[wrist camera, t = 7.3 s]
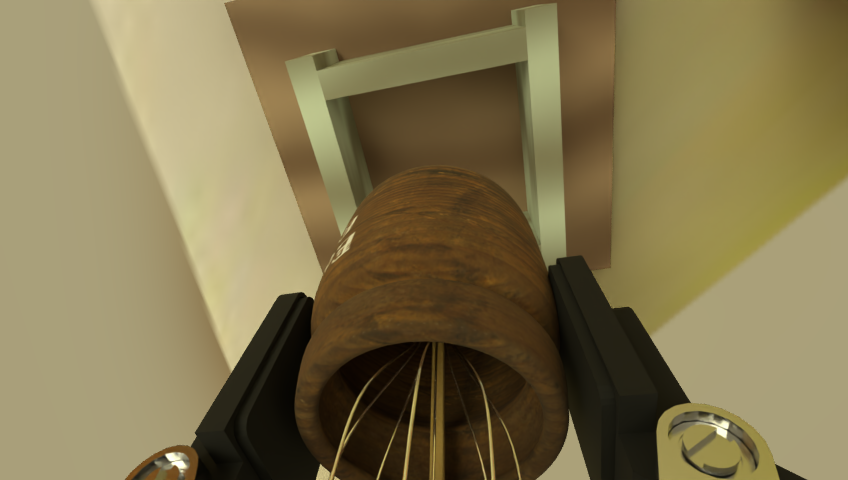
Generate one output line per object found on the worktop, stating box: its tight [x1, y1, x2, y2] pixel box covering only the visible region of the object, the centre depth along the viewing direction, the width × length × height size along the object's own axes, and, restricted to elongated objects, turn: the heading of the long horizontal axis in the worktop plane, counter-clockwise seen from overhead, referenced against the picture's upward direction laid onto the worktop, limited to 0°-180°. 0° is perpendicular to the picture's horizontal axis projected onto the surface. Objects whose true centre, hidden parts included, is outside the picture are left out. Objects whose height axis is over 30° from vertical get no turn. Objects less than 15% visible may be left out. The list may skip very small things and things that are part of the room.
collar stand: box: [224, 0, 616, 274], centre depth 22 cm, size 18×18×6 cm
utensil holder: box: [295, 165, 569, 480], centre depth 8 cm, size 6×6×12 cm
